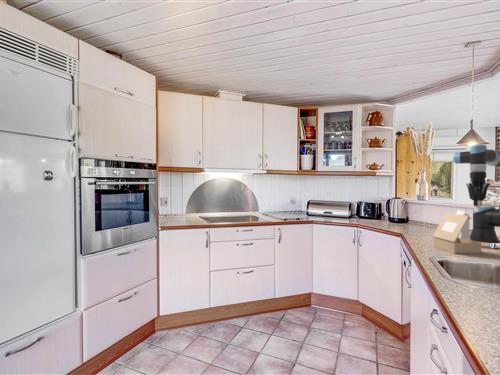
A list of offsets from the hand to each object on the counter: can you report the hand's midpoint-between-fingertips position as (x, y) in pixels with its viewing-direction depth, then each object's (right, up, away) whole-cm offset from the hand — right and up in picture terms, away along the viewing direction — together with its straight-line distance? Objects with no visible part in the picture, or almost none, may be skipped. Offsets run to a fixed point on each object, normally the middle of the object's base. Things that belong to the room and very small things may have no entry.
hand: (477, 211), depth 169 cm
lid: (-14, -10, -1) cm, 18 cm away
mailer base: (-13, -23, 0) cm, 26 cm away
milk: (+1, -23, +15) cm, 27 cm away
